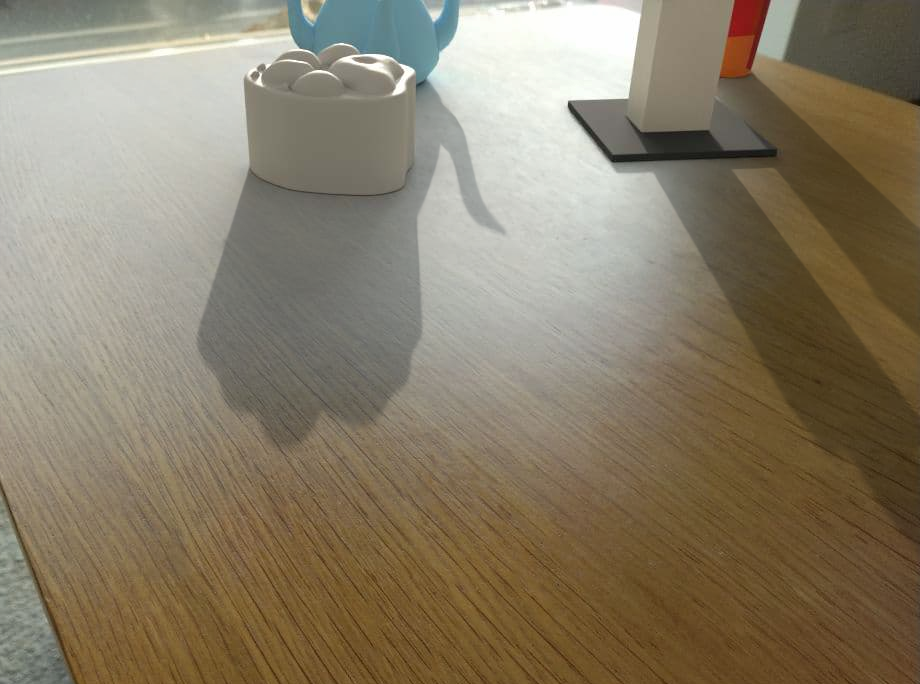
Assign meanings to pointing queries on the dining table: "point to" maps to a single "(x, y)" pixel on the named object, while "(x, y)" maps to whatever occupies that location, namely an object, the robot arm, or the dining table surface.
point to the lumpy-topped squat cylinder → (331, 121)
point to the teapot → (378, 29)
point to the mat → (667, 135)
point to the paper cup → (743, 37)
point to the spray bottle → (678, 64)
